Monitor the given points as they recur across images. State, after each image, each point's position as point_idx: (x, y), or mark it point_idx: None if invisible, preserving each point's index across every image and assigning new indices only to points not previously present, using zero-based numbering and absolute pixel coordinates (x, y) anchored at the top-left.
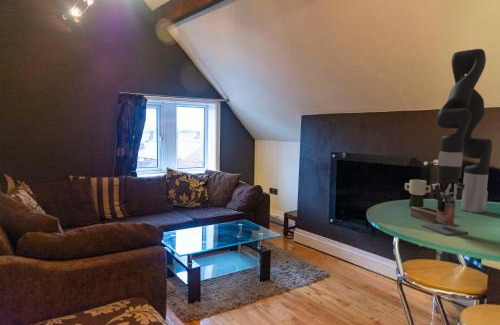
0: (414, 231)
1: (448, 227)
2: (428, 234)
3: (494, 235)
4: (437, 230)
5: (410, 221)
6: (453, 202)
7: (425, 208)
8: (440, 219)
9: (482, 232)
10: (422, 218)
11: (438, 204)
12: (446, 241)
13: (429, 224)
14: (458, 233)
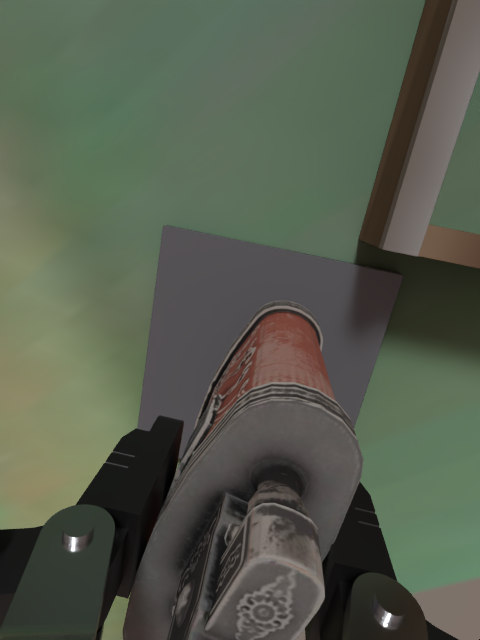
0: (2, 286)
1: None
2: (44, 373)
3: (451, 579)
4: (147, 379)
5: (228, 42)
6: (316, 629)
7: None
8: (217, 382)
9: (460, 520)
10: (415, 49)
11: (96, 486)
12: (37, 493)
13: (250, 246)
14: None
